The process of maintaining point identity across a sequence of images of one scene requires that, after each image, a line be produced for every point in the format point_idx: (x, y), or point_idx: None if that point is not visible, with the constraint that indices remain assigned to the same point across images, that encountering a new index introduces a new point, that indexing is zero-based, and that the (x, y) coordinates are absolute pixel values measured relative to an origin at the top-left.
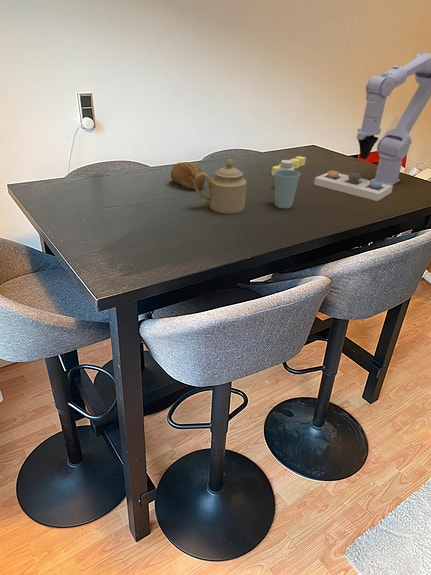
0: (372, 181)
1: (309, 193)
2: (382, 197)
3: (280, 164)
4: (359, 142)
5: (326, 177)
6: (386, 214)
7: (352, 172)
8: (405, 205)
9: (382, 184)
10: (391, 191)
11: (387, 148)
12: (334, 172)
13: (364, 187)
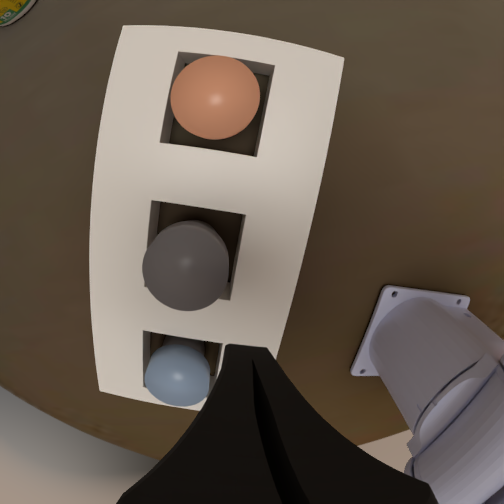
0: (173, 370)
1: (8, 99)
2: None
3: None
4: (154, 471)
5: None
6: (33, 396)
7: (212, 246)
8: (147, 436)
9: None
10: None
11: (467, 445)
12: (208, 104)
13: (133, 329)
